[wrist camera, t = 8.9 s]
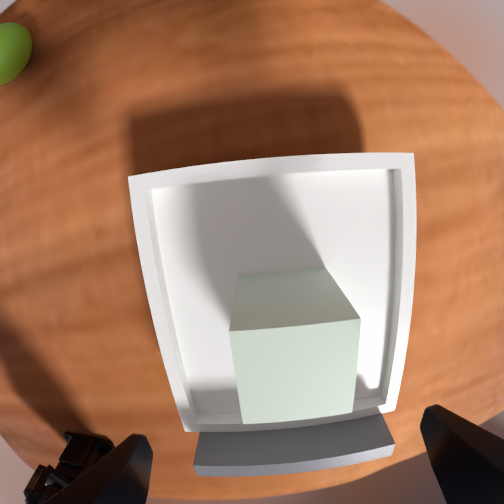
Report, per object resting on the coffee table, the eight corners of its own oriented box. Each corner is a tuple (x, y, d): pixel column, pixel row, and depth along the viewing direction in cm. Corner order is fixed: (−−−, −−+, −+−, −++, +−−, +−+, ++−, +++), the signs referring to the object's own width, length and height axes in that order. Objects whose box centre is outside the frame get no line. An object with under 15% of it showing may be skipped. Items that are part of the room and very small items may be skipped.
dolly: (372, 381, 22) (405, 451, 15) (199, 398, 23) (181, 474, 15) (377, 156, 18) (445, 150, 10) (158, 175, 19) (98, 178, 11)
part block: (325, 342, 17) (352, 412, 11) (247, 349, 17) (243, 424, 11) (325, 267, 16) (360, 318, 10) (238, 275, 16) (228, 331, 10)
